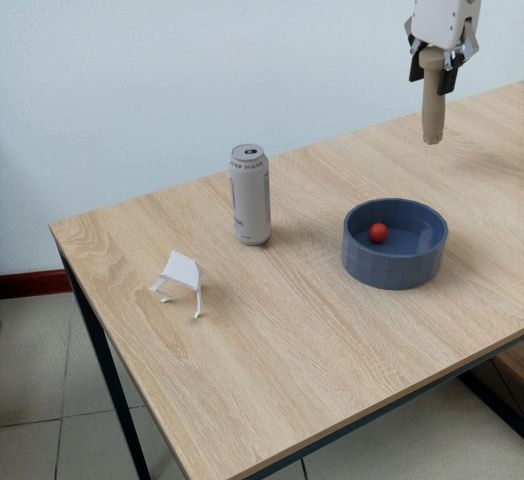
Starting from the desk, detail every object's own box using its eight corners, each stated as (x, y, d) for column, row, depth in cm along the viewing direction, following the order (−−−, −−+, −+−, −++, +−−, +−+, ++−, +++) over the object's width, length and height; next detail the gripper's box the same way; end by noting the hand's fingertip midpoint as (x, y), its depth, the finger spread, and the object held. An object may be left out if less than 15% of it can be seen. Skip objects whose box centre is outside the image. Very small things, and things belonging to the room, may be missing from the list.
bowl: (396, 219, 90) (401, 187, 86) (461, 266, 81) (470, 233, 76) (322, 250, 85) (323, 218, 81) (382, 303, 76) (387, 270, 72)
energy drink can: (234, 227, 91) (226, 143, 80) (269, 224, 91) (265, 140, 80) (236, 249, 87) (228, 163, 75) (273, 245, 87) (270, 159, 76)
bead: (394, 228, 83) (380, 216, 84) (384, 236, 82) (369, 224, 82) (386, 241, 86) (372, 229, 86) (376, 249, 84) (362, 237, 85)
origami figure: (141, 292, 80) (134, 266, 77) (186, 268, 84) (181, 242, 80) (187, 333, 74) (182, 307, 70) (234, 305, 77) (231, 279, 74)
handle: (419, 151, 94) (420, 63, 84) (418, 134, 99) (418, 48, 88) (448, 148, 93) (452, 57, 83) (445, 131, 97) (449, 43, 87)
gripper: (520, -38, 72) (485, 98, 85) (432, -58, 82) (413, 66, 95) (480, -28, 70) (450, 110, 83) (394, -50, 80) (380, 75, 93)
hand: (430, 85), depth 89 cm, fingers closed on handle, 6 cm apart
